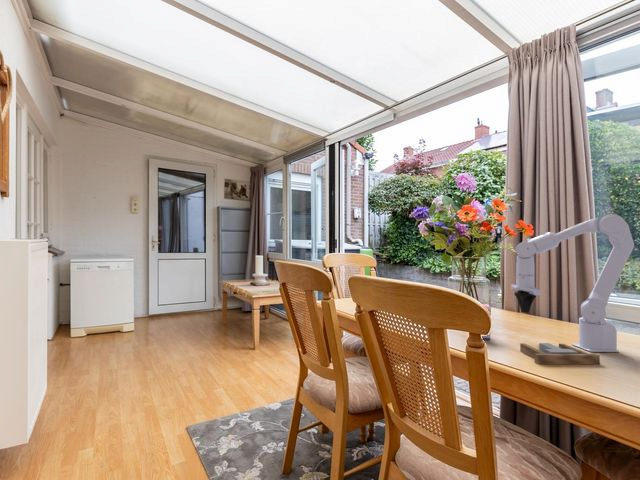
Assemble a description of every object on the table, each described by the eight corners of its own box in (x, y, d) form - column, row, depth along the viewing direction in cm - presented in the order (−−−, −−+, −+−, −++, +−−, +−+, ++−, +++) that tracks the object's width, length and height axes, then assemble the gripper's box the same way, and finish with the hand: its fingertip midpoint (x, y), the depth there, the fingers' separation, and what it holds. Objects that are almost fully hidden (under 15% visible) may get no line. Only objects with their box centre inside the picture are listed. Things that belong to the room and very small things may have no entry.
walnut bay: (569, 351, 109) (569, 343, 109) (599, 364, 98) (599, 355, 98) (514, 351, 109) (514, 343, 109) (537, 364, 97) (537, 355, 98)
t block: (556, 352, 108) (556, 343, 108) (578, 362, 99) (578, 352, 99) (531, 352, 108) (531, 343, 108) (551, 362, 99) (551, 352, 99)
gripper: (503, 273, 132) (503, 308, 132) (526, 276, 117) (526, 316, 117) (521, 273, 132) (521, 308, 132) (547, 277, 117) (547, 316, 117)
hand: (525, 312), depth 124 cm, fingers closed
